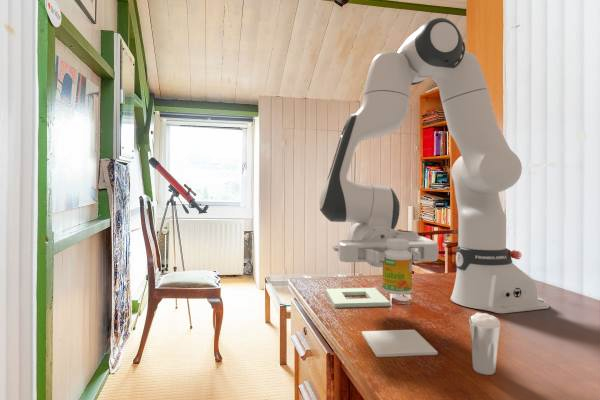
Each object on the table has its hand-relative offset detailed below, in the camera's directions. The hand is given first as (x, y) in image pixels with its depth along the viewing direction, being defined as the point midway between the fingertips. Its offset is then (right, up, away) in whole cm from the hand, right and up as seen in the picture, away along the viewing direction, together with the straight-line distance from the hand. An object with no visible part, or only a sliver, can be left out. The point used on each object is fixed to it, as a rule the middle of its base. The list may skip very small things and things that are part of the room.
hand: (399, 257), depth 75 cm
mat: (0, -16, +1) cm, 17 cm away
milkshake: (+11, -17, -10) cm, 23 cm away
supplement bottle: (0, -7, +1) cm, 7 cm away
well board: (-4, -15, +31) cm, 35 cm away
